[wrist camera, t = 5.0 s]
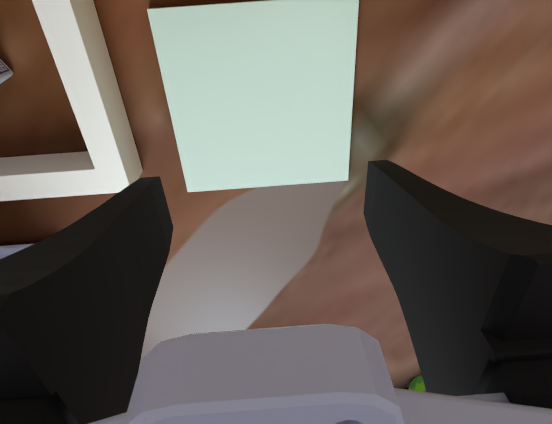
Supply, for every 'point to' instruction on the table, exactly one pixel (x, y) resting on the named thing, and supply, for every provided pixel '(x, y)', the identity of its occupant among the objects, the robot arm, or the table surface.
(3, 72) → the medicine box
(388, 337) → the table surface
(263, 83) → the mat
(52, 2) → the white square frame
